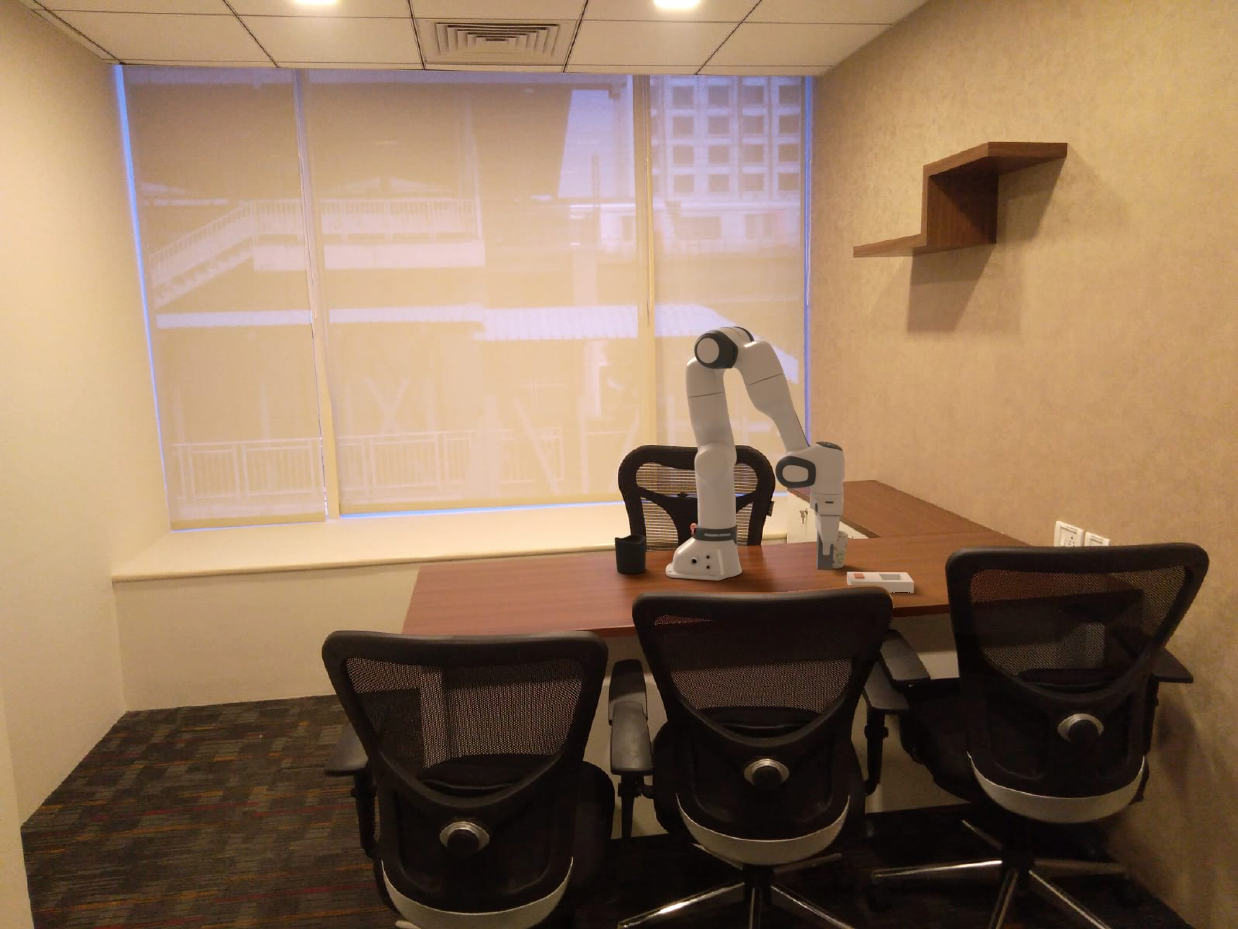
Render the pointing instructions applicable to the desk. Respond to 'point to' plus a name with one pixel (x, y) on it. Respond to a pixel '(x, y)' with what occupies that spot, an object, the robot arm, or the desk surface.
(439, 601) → the desk surface
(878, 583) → the power strip
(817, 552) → the plug
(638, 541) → the pen holder
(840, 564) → the mug
